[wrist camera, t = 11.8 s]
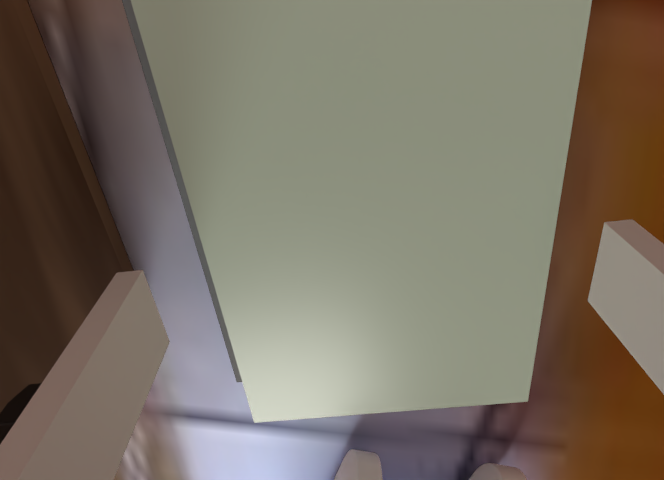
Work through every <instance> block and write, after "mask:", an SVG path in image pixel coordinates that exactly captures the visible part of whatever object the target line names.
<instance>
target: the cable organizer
mask: <svg viewBox="0 0 664 480" xmlns="http://www.w3.org/2000/svg"><path fill="white" fill-rule="evenodd" d="M334 480H383V478H382V468H381V463H380V459H379V457H378V455H377V454H376V453H373V452H367V451H361V450H355V449H351V450H349V451H348V452H347V454H346V455H345V457H344V459H343V461H342V463H341V465H340V468H339V470H338V472H337V474H336V476H335V478H334ZM469 480H527V479H526V477H525V475H524V474H523V473H522V472H521V471H520V470H519V469H517V468H515V467H511V466H505V465H499V464H493V463H485V464H482V465H481V466H479V467H478V468H477V469H476V470H475V472H474V473H473V474H472V476H471V477H470V478H469Z"/></svg>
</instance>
